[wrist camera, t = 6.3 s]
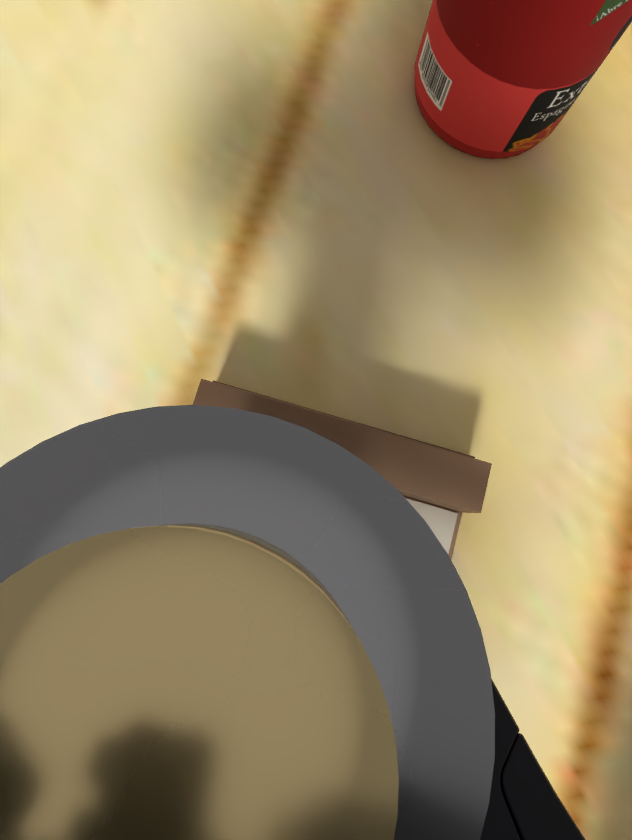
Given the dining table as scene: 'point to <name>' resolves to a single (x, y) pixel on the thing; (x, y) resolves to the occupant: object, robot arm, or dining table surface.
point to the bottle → (231, 642)
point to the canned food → (510, 67)
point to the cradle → (382, 458)
